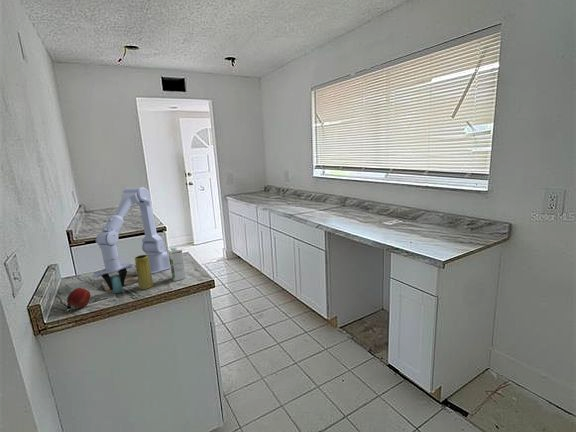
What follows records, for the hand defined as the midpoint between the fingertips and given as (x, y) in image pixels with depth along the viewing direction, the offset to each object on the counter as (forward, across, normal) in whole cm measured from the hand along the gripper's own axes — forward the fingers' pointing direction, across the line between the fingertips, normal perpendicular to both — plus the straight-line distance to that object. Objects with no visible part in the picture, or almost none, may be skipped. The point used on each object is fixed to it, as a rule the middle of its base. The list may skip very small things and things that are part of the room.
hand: (117, 287), depth 131 cm
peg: (+2, 0, 0) cm, 2 cm away
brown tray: (+2, -4, -10) cm, 11 cm away
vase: (+2, -11, +5) cm, 12 cm away
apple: (+2, +14, +3) cm, 15 cm away
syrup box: (+2, -24, +8) cm, 26 cm away
